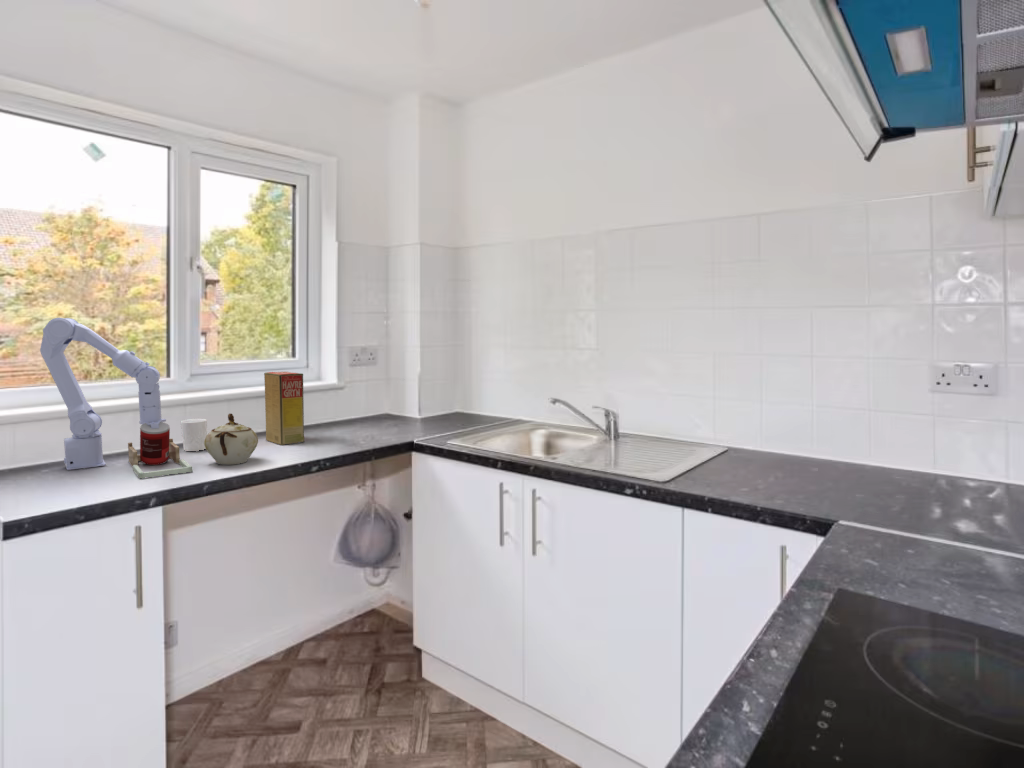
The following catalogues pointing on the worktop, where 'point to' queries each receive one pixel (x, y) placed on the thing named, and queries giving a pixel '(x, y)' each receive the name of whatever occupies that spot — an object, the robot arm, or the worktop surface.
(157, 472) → the bay
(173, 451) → the holder
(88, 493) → the worktop surface
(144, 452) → the canned food
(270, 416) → the food packaging
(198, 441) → the white cup
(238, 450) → the sugar bowl
